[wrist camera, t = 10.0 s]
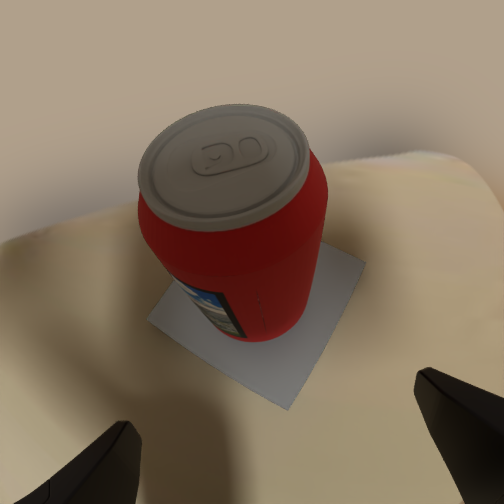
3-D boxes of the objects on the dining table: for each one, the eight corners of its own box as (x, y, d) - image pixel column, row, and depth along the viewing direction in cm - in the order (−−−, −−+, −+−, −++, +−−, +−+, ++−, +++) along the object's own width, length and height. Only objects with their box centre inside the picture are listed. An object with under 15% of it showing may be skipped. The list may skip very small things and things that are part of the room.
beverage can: (197, 262, 20) (124, 124, 10) (290, 238, 21) (289, 82, 10) (215, 356, 17) (112, 277, 7) (322, 328, 17) (376, 208, 7)
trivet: (287, 409, 16) (287, 410, 15) (151, 323, 20) (145, 319, 19) (362, 268, 20) (366, 262, 19) (235, 209, 24) (233, 201, 23)
